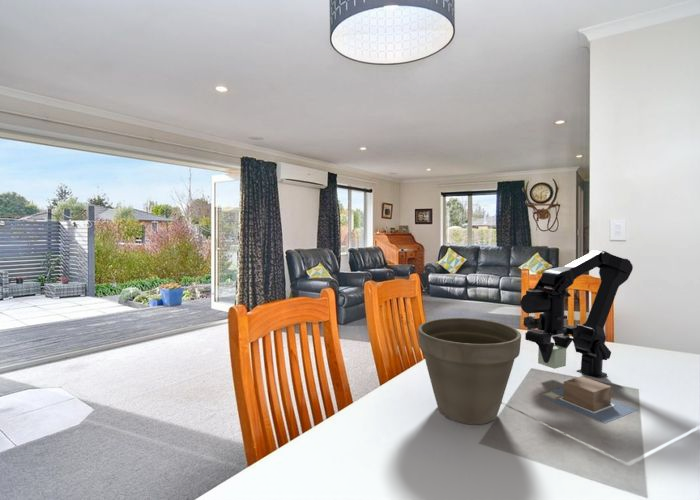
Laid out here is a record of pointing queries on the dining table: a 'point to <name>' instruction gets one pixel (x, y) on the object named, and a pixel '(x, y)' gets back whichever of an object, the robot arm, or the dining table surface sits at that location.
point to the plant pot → (469, 365)
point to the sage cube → (554, 357)
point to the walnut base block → (587, 393)
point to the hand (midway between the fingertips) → (551, 361)
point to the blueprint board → (601, 414)
